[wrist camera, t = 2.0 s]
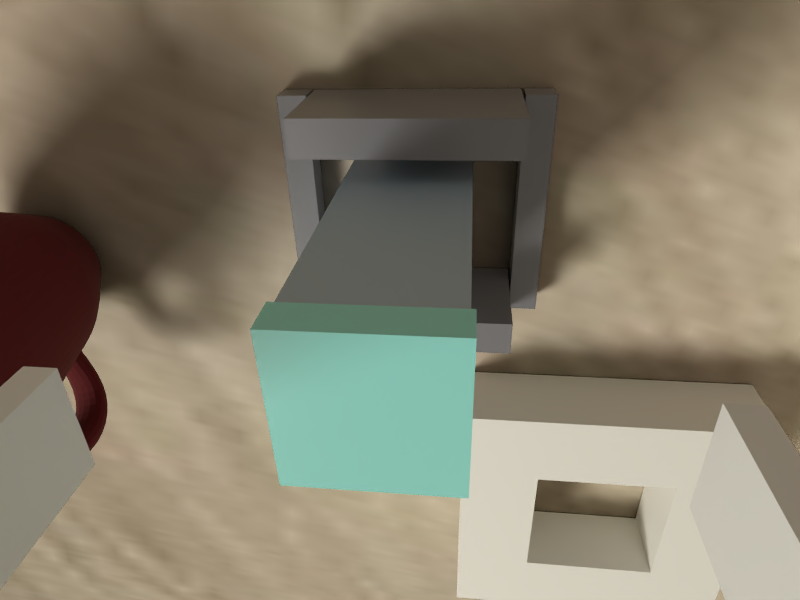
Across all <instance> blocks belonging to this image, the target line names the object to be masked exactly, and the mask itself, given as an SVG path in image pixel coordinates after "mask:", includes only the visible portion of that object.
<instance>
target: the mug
mask: <svg viewBox="0 0 800 600" xmlns="http://www.w3.org/2000/svg"><path fill="white" fill-rule="evenodd" d="M100 286H101V268H100V263H99V260H98V257H97V255H96V253H95V251H94V249H93V248H92V246H91V245H90V244H89V242H88V241H87V240H86V239H85V238H84V237H83V236H82V235H81V234H80V233H79V232H78V231H76V230H75V229H74V228H72V227H71V226H69V225H67V224H65V223H63V222H61V221H59V220H56V219H53V218H50V217H45V216H38V215H28V214H18V213H4V212H0V387H1V386H2V385H3V384H4V383H5V382H6V381H7V380H9V379H10V378H11V377H12V376H13V375H14V374H15V373H16V372H17V371H19V370H20V369H21V368H22V367H23V366H25V367H45V368H57V369H58V372H59V374H60V377H61V379H62V382H63V380H64V379H65V377H66V376H67V378H68V380H69V382H70V384H71V386H72V389H73V392H74V395H75V400H76V417H77V420H78V422H79V425H80V427H81V430H82V432H83V435H84V437H85V440H86V442H87V445H88V447H89V450H90V451H91V449H92V448H93V447H94V446H95V444H96V443H97V442H98V440H99V438H100V436H101V434H102V432H103V429H104V426H105V424H106V418H107V398H106V393H105V390H104V387H103V384H102V382H101V380H100V378H99V376H98V374H97V372H96V371H95V369H94V368H93V366H92V365H91V363H90V362H89V360H88V359H87V358H86V356H85V355H84V354H83V352H82V349H83V348H84V346H85V344H86V342H87V340H88V339H89V337H90V335H91V333H92V330H93V328H94V325H95V322H96V318H97V314H98V308H99V301H100Z"/></svg>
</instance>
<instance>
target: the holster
mask: <svg viewBox="0 0 800 600" xmlns="http://www.w3.org/2000/svg"><path fill="white" fill-rule="evenodd" d="M276 97H277V104H278V112H279V120H280V127H281V135H282V142H283V150H284V158H285V165H286V173H287V180H288V188H289V195H290V203H291V211H292V218H293V226H294V233H295V241H296V249H297V256H298V259H299V257H300V255H301V254H302V252H303V250H304V248H305V247H306V245H307V243H308V241H309V239H310V238H311V236H312V234H313V232H314V231H315V229H316V227H317V225H318V224H319V222H320V220H321V218H322V216H323V215H324V213H325V207H324V197H323V187H322V177H321V167H320V160H439V161H518V170H517V183H516V196H515V208H514V221H513V234H512V247H511V259H510V272H509V282H508V272H507V268H473V267H472V288H471V309H477V341H476V352H487V353H510V349H511V338H512V326H513V323H512V313H511V308H528V309H535V305H536V295H537V286H538V277H539V268H540V258H541V249H542V240H543V231H544V221H545V212H546V203H547V194H548V184H549V175H550V166H551V157H552V147H553V138H554V129H555V120H556V110H557V101H558V93H557V91H556V90H555V88H524V94H523V93H522V90H521V88H468V89H315V90H314V91H313V89H286V90H283V91H282V92H281V93H279V94H278V95H277V96H276Z"/></svg>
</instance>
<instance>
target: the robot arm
mask: <svg viewBox="0 0 800 600" xmlns="http://www.w3.org/2000/svg"><path fill="white" fill-rule="evenodd" d="M94 465H95V462H94V460H93V457H92V455H91V452H90V450H89V447H88V445H87V442H86V440H85V437H84V435H83V432H82V430H81V427H80V425H79V422H78V420H77V417H76V415H75V412H74V409H73V407H72V404H71V402H70V399H69V397H68V394H67V392H66V389H65V387H64V384H63V382H62V379H61V377H60V374H59V372H58V369H57V368H45V367H25V366H23V367H22V368H21V369H20V370H19V371H17V372H16V373H15V374H14V375H13V376H12V377H11V378H10V379H9V380H7V381H6V382H5V383H4V384H3V385H2V386H1V387H0V590H1V588H2V587H3V586H4V584H5V583H6V582H7V580H8V579H9V578H10V576H11V575H12V574H13V572H14V571H15V570H16V568H17V567H18V566H19V564H20V563H21V562H22V560H23V559H24V558H25V556H26V555H27V554H28V552H29V551H30V550H31V548H32V547H33V546H34V544H35V543H36V542H37V540H38V539H39V538H40V537H41V535H42V534H43V533H44V531H45V530H46V529H47V527H48V526H49V525H50V523H51V522H52V521H53V519H54V518H55V517H56V515H57V514H58V513H59V511H60V510H61V509H62V507H63V506H64V505H65V503H66V502H67V501H68V499H69V498H70V497H71V495H72V494H73V493H74V491H75V490H76V489H77V487H78V486H79V485H80V484H81V482H82V481H83V480H84V478H85V477H86V476H87V474H88V473H89V472H90V470H91V469H92V468H93V466H94ZM689 507H690V509H691V512H692V515H693V517H694V520H695V522H696V525H697V528H698V530H699V533H700V535H701V538H702V541H703V543H704V546H705V549H706V551H707V554H708V556H709V559H710V562H711V564H712V567H713V569H714V572H715V575H716V577H717V580H718V582H719V585H720V588H721V590H722V593H723V595H724V598H725V600H800V455H799V453H798V452H797V450H796V449H795V447H794V446H793V444H792V443H791V441H790V439H789V438H788V436H787V435H786V433H785V432H784V430H783V429H782V427H781V425H780V424H779V422H778V421H777V419H776V418H775V416H774V415H773V413H772V412H771V410H770V408H769V407H768V405H750V404H731V403H723V405H722V408H721V411H720V414H719V417H718V420H717V423H716V426H715V429H714V432H713V435H712V439H711V442H710V445H709V448H708V451H707V454H706V457H705V460H704V463H703V466H702V469H701V472H700V475H699V479H698V482H697V485H696V488H695V491H694V494H693V497H692V500H691V503H690V506H689Z"/></svg>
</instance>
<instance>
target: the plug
mask: <svg viewBox="0 0 800 600" xmlns="http://www.w3.org/2000/svg"><path fill="white" fill-rule="evenodd" d="M472 212H473V161H439V160H354V162H353V163H352V165H351V167H350V169H349V170H348V172H347V174H346V176H345V177H344V179H343V181H342V183H341V185H340V186H339V188H338V190H337V192H336V193H335V195H334V197H333V199H332V200H331V202H330V204H329V206H328V208H327V209H326V211H325V213H324V215H323V216H322V218H321V220H320V222H319V224H318V225H317V227H316V229H315V231H314V232H313V234H312V236H311V238H310V239H309V241H308V243H307V245H306V247H305V248H304V250H303V252H302V254H301V255H300V257H299V259H298V261H297V262H296V264H295V266H294V268H293V270H292V271H291V273H290V275H289V277H288V278H287V280H286V282H285V284H284V286H283V287H282V289H281V291H280V293H279V294H278V296H277V298H276V300H275V301H274V302H266V303H265V305H264V307H263V308H262V310H261V312H260V313H259V315H258V317H257V319H256V320H255V322H254V324H253V325H252V327H251V329H250V331H251V337H252V342H253V347H254V352H255V358H256V363H257V368H258V373H259V378H260V384H261V389H262V394H263V399H264V404H265V410H266V415H267V420H268V425H269V431H270V436H271V441H272V446H273V451H274V457H275V462H276V467H277V472H278V477H279V483H280V485H284V486H298V487H313V488H327V489H341V490H356V491H370V492H384V493H398V494H413V495H427V496H441V497H456V498H469V484H470V464H471V443H472V423H473V402H474V382H475V361H476V341H477V309H471V288H472Z"/></svg>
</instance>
